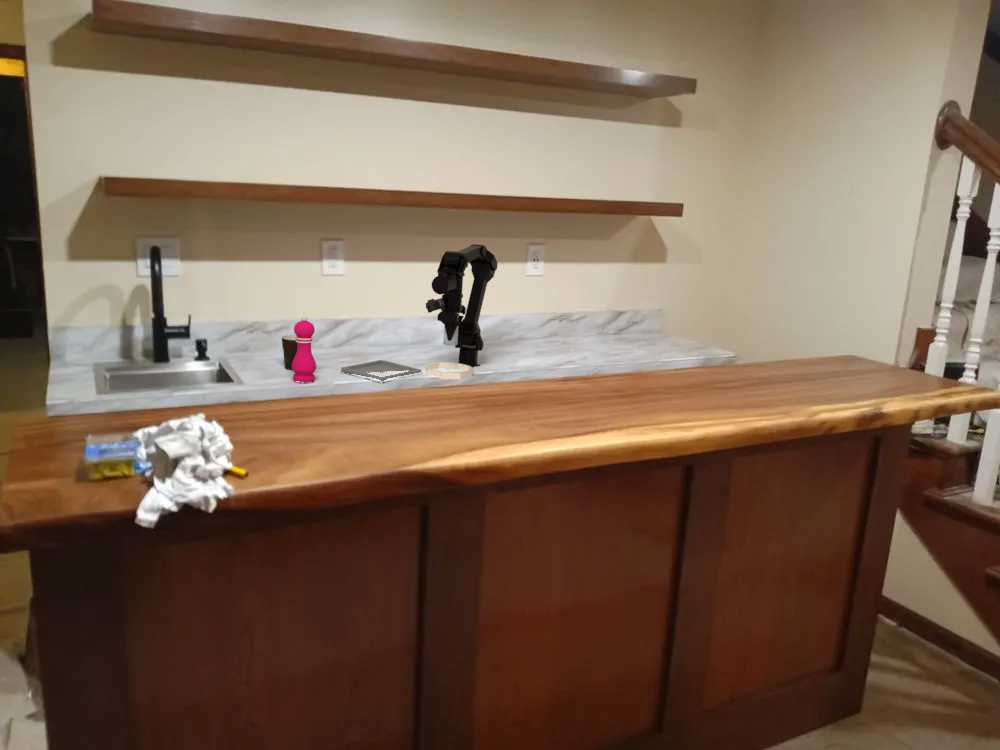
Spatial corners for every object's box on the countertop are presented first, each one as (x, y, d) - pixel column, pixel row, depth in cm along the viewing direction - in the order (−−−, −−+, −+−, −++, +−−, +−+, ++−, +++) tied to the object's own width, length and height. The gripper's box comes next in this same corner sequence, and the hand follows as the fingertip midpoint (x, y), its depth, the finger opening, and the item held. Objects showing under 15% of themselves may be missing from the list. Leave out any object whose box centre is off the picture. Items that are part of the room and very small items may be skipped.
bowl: (446, 367, 269) (446, 360, 269) (480, 375, 261) (480, 368, 261) (417, 373, 258) (417, 366, 257) (451, 382, 250) (452, 375, 249)
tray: (381, 364, 268) (381, 359, 267) (421, 374, 257) (421, 369, 257) (341, 372, 253) (341, 367, 253) (381, 383, 243) (381, 378, 243)
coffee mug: (301, 372, 250) (302, 341, 248) (276, 369, 252) (276, 338, 249) (317, 364, 261) (317, 335, 259) (293, 361, 263) (293, 332, 260)
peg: (449, 342, 260) (450, 324, 259) (460, 344, 258) (461, 326, 256) (440, 343, 257) (441, 325, 255) (451, 346, 254) (452, 327, 253)
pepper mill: (293, 377, 243) (294, 313, 238) (317, 378, 244) (318, 314, 239) (289, 383, 236) (289, 317, 232) (314, 384, 237) (314, 318, 232)
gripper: (434, 285, 263) (431, 332, 266) (422, 292, 245) (420, 342, 248) (467, 288, 262) (464, 334, 265) (458, 295, 244) (455, 345, 247)
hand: (450, 339), depth 257 cm, fingers closed on peg, 4 cm apart
